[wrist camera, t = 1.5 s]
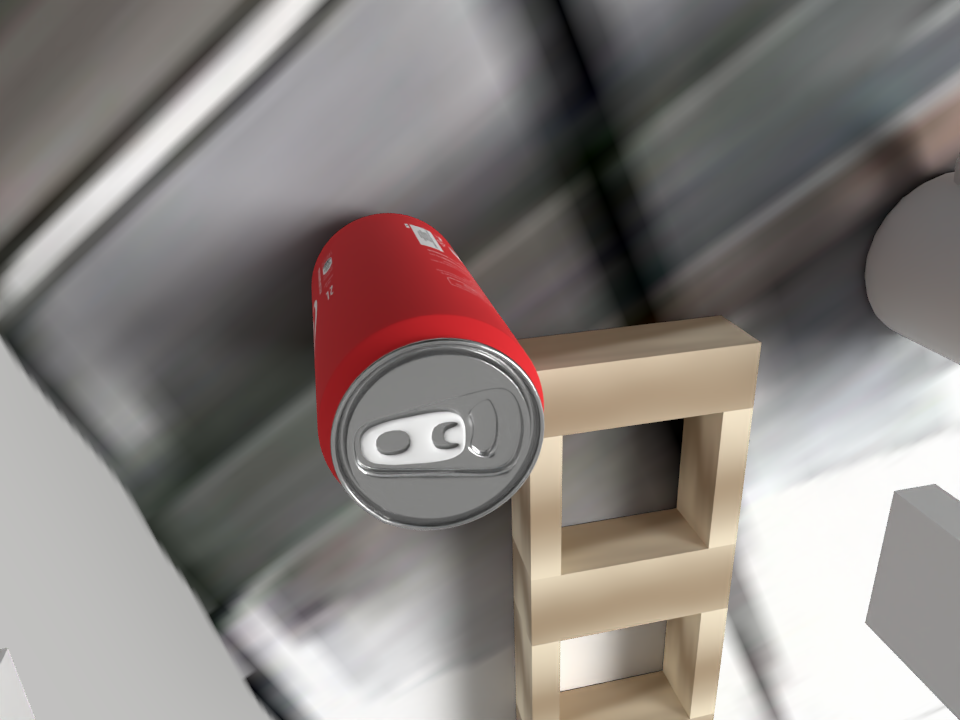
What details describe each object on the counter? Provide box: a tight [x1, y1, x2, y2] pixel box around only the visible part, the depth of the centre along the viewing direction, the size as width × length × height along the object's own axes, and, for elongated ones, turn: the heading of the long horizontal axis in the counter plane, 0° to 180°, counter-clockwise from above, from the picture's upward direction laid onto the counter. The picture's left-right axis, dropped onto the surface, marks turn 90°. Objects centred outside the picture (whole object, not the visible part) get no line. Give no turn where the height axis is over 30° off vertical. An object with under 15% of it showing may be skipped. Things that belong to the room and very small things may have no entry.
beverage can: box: [312, 213, 545, 530], centre depth 22 cm, size 5×5×12 cm
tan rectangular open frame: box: [511, 315, 761, 720], centre depth 33 cm, size 22×9×3 cm, turn 2°
